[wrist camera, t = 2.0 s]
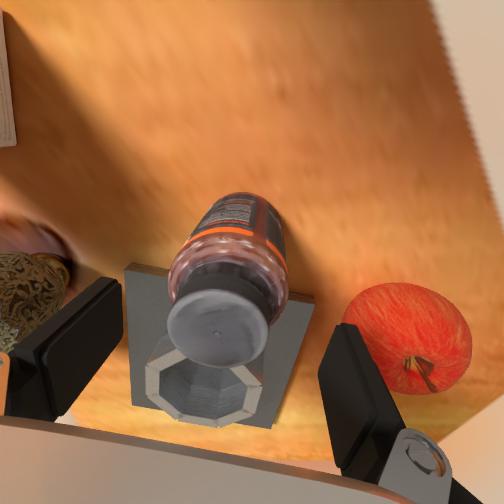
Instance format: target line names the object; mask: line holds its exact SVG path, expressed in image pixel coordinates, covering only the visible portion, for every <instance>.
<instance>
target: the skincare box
mask: <svg viewBox="0 0 504 504" xmlns="http://www.w3.org/2000/svg"><path fill="white" fill-rule="evenodd" d="M16 145H17V142H16V133H15V125H14V117H13V107H12V98H11V89H10V80H9V71H8V62H7V53H6V44H5V36H4V26H3V15H2V8H1V7H0V147H7V146H16Z"/></svg>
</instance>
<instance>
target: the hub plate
mask: <svg viewBox="0 0 504 504" xmlns="http://www.w3.org/2000/svg"><path fill="white" fill-rule="evenodd" d="M169 271H170V270H168V269H163V268H157V267H152V266H147V265H141V264H136V263H131V264H130V265H129V266H128V267H127V268H125V269H124V274H125V291H126V309H127V327H128V345H129V362H130V380H131V398H132V405H134V406H140V407H146V408H151V409H157V410H163V411H165V412H166V413H167V414H169V415H170V416H171V417H172V418H174V419H175V420H176V419H178V421H181V422H186V423H192V424H198V425H204V426H210V427H215V428H217V426H219V427H220V428H221V427H223V426H226V425H229V424H232V423H238V424H244V425H249V426H255V427H261V428H267V429H271V427H272V424H273V422H274V419H275V416H276V413H277V410H278V408H279V405H280V402H281V399H282V397H283V394H284V391H285V388H286V386H287V383H288V380H289V377H290V374H291V372H292V369H293V366H294V363H295V361H296V358H297V355H298V352H299V350H300V347H301V344H302V341H303V338H304V336H305V333H306V330H307V327H308V325H309V322H310V319H311V316H312V314H313V311H314V308H315V305H316V304H315V301H314V297H313V296H309V295H303V294H298V293H293V292H289V296H288V301H287V304H286V307H285V309H284V311H283V313H282V315H281V316H280V317H279V319H278V320H277V321H276V322H275V323H274V324H273V325H272V326H271V327H269V328H270V331H269V339H268V343H267V345H266V347H265V349H264V350H263V352H262V353H261V354H260V355H259V356H258V357H257V358H256V359H254V360H253V361H251V362H249V363H247V364H245V365H241V366H237V367H233V368H225V369H224V368H212V367H207V366H204V365H201V364H198V363H196V362H194V361H192V360H190V359H189V358H187V357H186V356H184V355H183V354H182V353H181V352H180V351H178V350H177V348H176V347H175V346H174V344H173V343H172V341H171V339H170V337H169V334H168V329H167V319H168V315H169V313H170V310H171V308H172V306H173V305H172V303H171V300H170V297H169V292H168V275H169Z"/></svg>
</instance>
